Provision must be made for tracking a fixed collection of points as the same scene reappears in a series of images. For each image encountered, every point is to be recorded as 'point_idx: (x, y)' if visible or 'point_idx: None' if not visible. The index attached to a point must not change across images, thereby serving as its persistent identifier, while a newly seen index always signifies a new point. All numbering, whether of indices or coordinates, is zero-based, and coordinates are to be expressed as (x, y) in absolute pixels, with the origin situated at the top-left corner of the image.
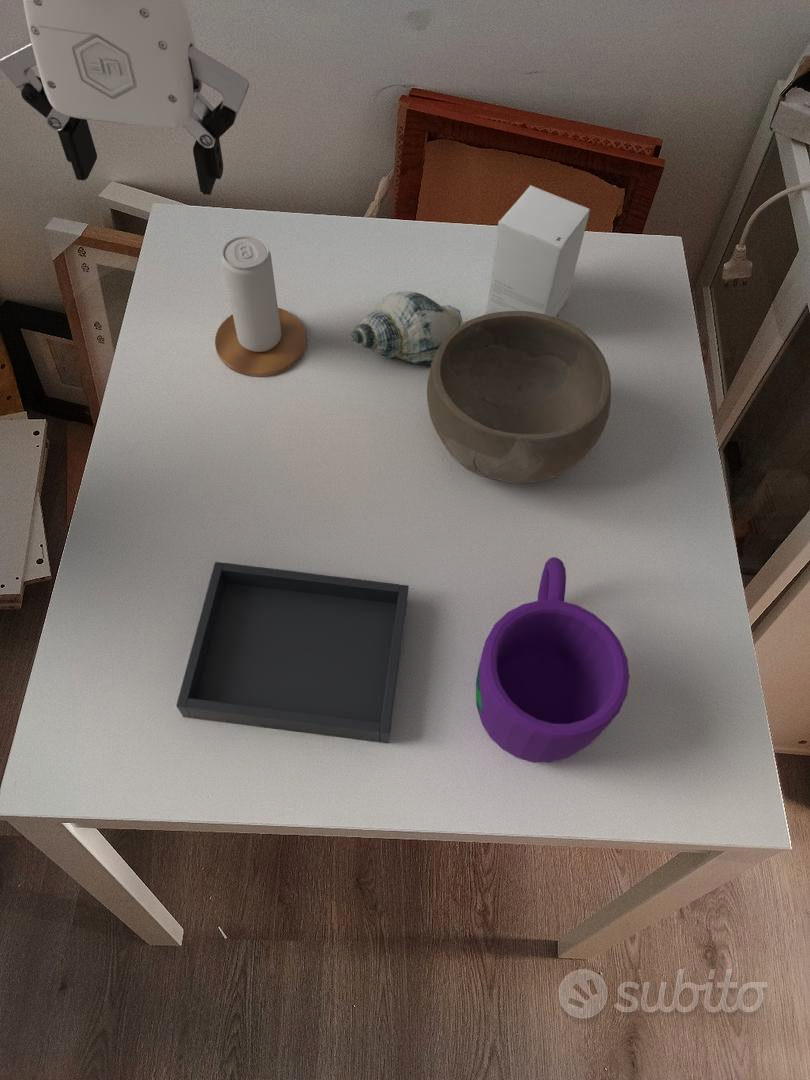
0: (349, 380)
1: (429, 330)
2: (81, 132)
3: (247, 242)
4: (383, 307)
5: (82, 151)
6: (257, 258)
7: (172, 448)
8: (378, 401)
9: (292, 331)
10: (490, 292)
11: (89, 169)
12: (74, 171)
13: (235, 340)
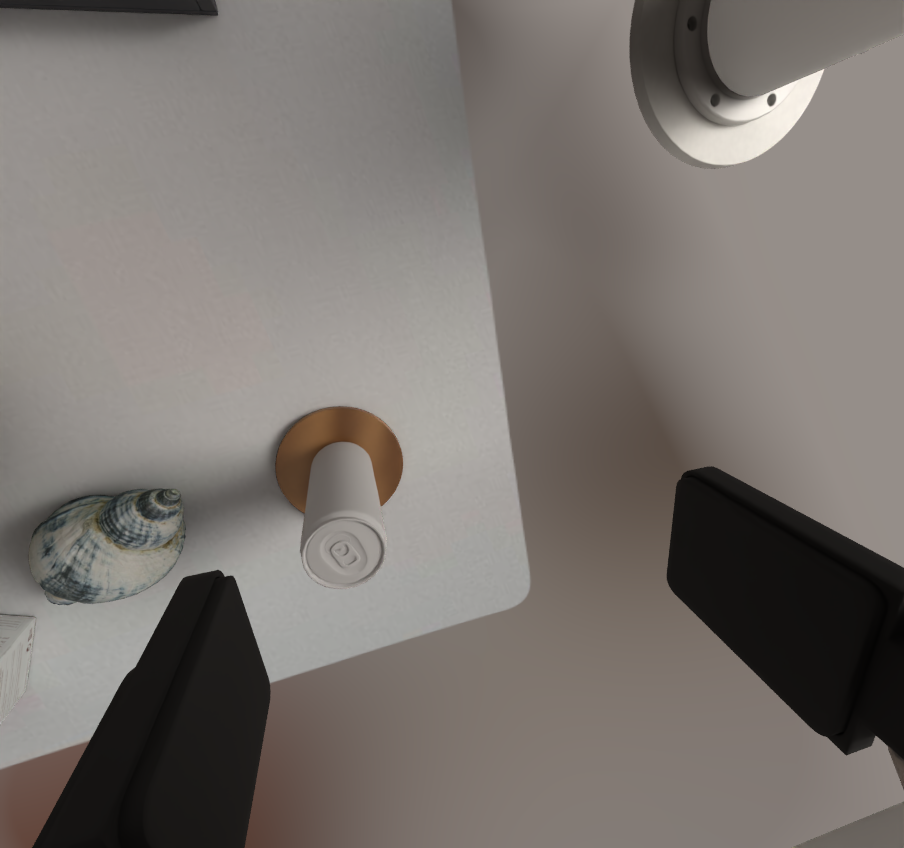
0: (188, 440)
1: (44, 545)
2: (799, 639)
3: (351, 573)
4: (140, 558)
5: (750, 560)
6: (317, 548)
7: (389, 257)
8: (124, 417)
9: (303, 491)
10: (3, 649)
11: (681, 521)
12: (736, 479)
13: (373, 453)
